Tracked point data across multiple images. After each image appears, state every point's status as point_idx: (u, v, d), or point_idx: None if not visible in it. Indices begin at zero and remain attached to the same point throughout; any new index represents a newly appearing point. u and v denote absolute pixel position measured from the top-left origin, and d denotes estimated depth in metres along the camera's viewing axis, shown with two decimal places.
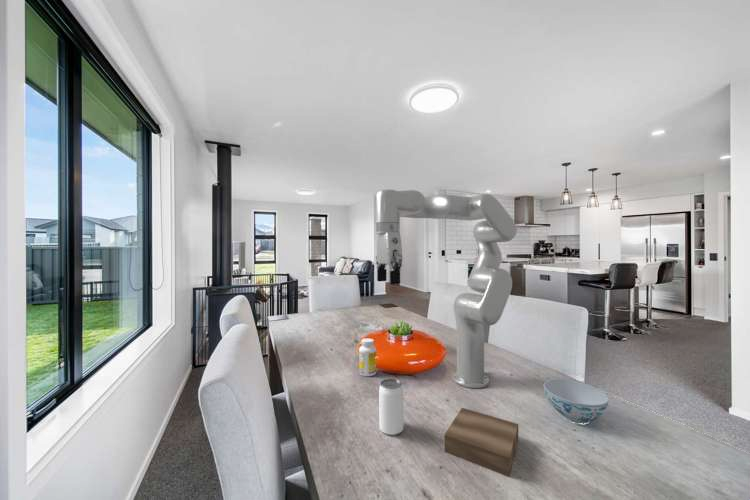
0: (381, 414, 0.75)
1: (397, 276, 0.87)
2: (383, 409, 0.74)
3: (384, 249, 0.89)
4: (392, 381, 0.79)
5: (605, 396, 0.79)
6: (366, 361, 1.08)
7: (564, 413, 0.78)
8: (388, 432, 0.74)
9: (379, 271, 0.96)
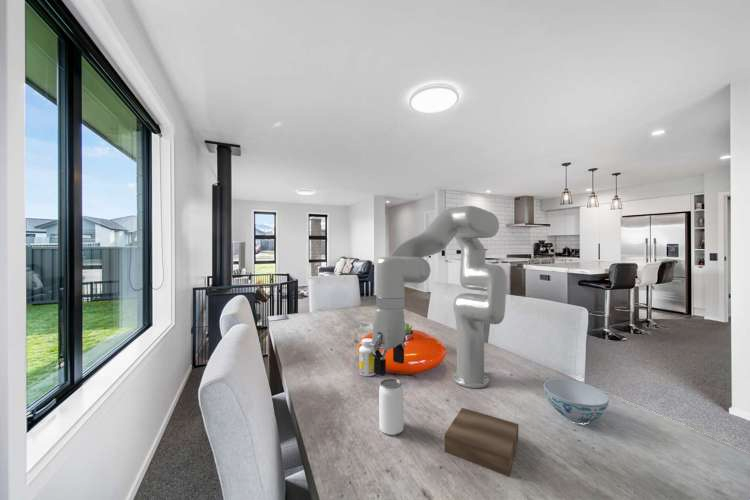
0: (381, 414, 0.75)
1: None
2: (383, 409, 0.74)
3: (402, 327, 0.77)
4: (392, 381, 0.79)
5: (605, 396, 0.79)
6: (366, 361, 1.08)
7: (564, 413, 0.78)
8: (388, 432, 0.74)
9: None
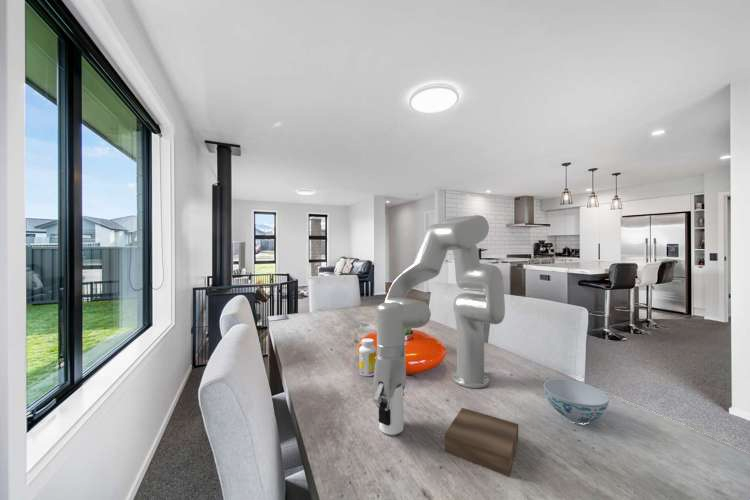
0: None
1: None
2: None
3: (403, 373, 0.78)
4: None
5: (605, 396, 0.79)
6: (366, 361, 1.08)
7: (564, 413, 0.78)
8: (388, 432, 0.74)
9: None
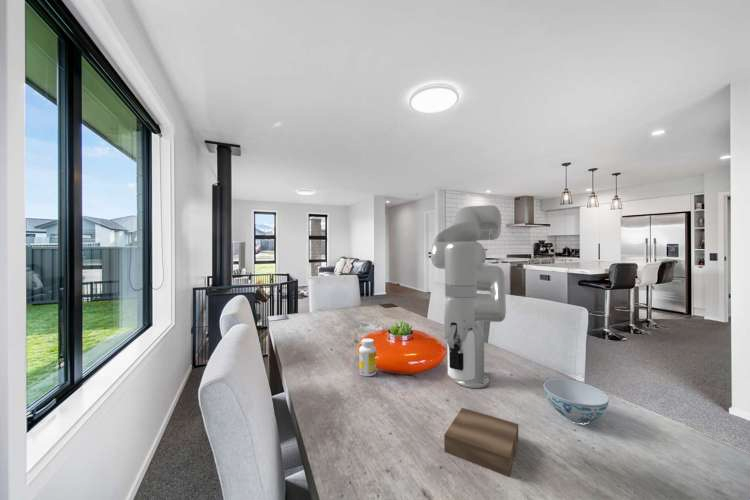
0: None
1: None
2: None
3: (473, 317, 0.72)
4: None
5: (605, 396, 0.79)
6: (366, 361, 1.08)
7: (564, 413, 0.78)
8: (460, 377, 0.68)
9: None
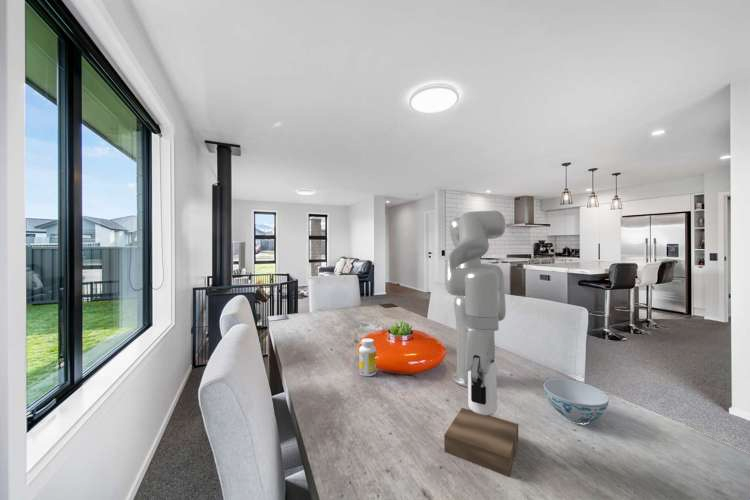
0: None
1: None
2: None
3: (494, 347, 0.70)
4: None
5: (605, 396, 0.79)
6: (366, 361, 1.08)
7: (564, 413, 0.78)
8: (482, 412, 0.67)
9: None
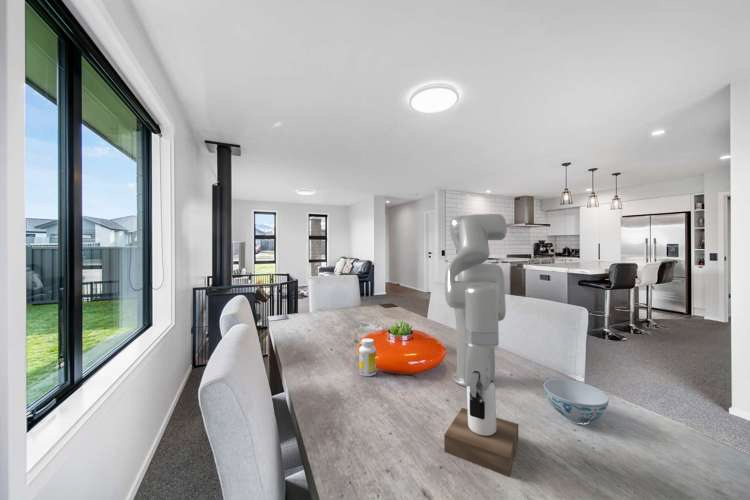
0: None
1: None
2: None
3: (494, 362, 0.70)
4: None
5: (605, 396, 0.79)
6: (366, 361, 1.08)
7: (564, 413, 0.78)
8: (482, 432, 0.67)
9: None
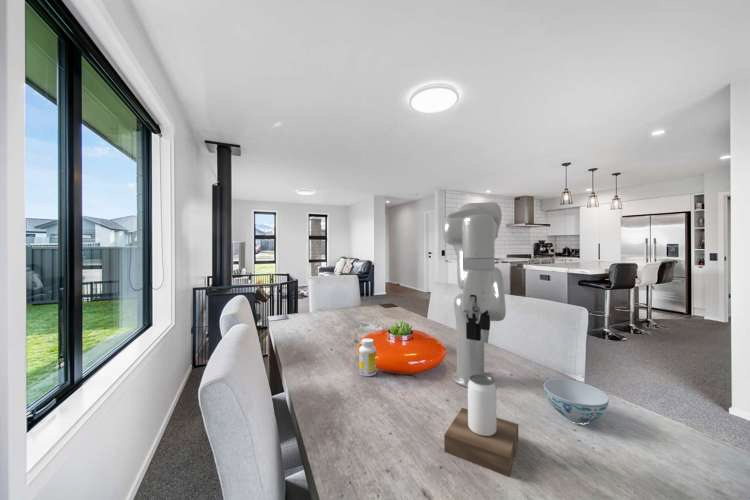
0: (473, 413, 0.68)
1: None
2: (476, 407, 0.67)
3: (490, 291, 0.72)
4: (480, 377, 0.72)
5: (605, 396, 0.79)
6: (366, 361, 1.08)
7: (564, 413, 0.78)
8: (482, 432, 0.67)
9: None
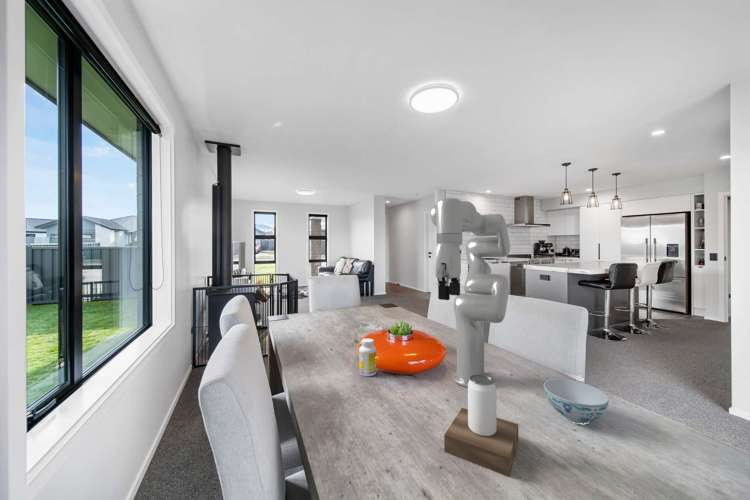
0: (473, 413, 0.68)
1: None
2: (476, 407, 0.67)
3: (459, 261, 0.87)
4: (480, 377, 0.72)
5: (605, 396, 0.79)
6: (366, 361, 1.08)
7: (564, 413, 0.78)
8: (482, 432, 0.67)
9: None
